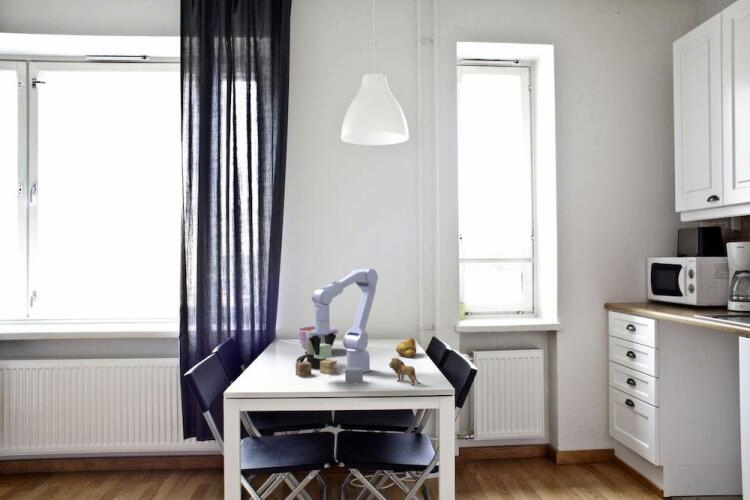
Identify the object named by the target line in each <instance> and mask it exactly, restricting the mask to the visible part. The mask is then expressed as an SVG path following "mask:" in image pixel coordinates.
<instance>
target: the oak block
mask: <svg viewBox="0 0 750 500" xmlns="http://www.w3.org/2000/svg"><path fill="white" fill-rule="evenodd" d="M337 364H338V360H334V359H331V358H327V359H326V360H323V361H320V369H319V373H320V374H324V375H333V374H336V373H338V365H337Z"/></svg>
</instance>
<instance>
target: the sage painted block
mask: <svg viewBox="0 0 750 500" xmlns="http://www.w3.org/2000/svg"><path fill="white" fill-rule="evenodd" d="M332 352H333V351H332V348H331V345H329V344H324V343H323V344H320V353H319V355H315V353H314V358H318V359H326V360H327V359H331V358H332V355H333V354H332Z"/></svg>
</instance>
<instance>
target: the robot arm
mask: <svg viewBox="0 0 750 500" xmlns="http://www.w3.org/2000/svg"><path fill="white" fill-rule="evenodd" d="M378 280H379V275H378V273H377V272H376V270H375V269H374V268H358V267H357V268H355V269H353V270H352V271H351V272H350V273H349V274H348V275H345V276H344V277H343V278H342V279H340V280H332V281H330V283H329V284H327V285H323V286H322V288H321V289H316V290H315V291H314V292H313V294H312V296H311V301H312V303H313V307H314V320H315V321H314V326H315V331H311V332H306V337H307V338H309V340H310V342H311V344H312V346H313V349H314V353H315V355H319V353H320V341H321V338H319V337H318V336H323V335H324V338H325V344H329V345H331V349H332V347H333V345H334V344H333V342H334V343H335V339H337V334H339V328H337V327H335V328H334V329H330V327H331V326H330V324H331V323H330V304H331V303H332V301H333V300H334V299H335V298H336V297H338V296H339V295H340V294H342V293H343V292H344V289H346V288H347V287H349V286H350V285H353V284H356V285H357V286H358V288H359V289H361V296H360V299H359V302H358V303H359V304H358V307H357V309H356V313H355V317H354V321H353V324H352V326H351V327H350V328H348V329H347V330H346V333H345V335H344V337H343V339H342V345H343V347H344V348H345V351H346V369H349V368H351V367H354V368H363V373H367V372H371V371H372V370H371V369H370V368H371V367H370V366H371V365H370V361H371V360H370V357H371V356H370V353H369V351H368V350H367V347H368V343H369V341H368V340H369V339H368V338H369V333H368V332H367V331H366V327H367V323H368V320H369V316H370V313H371V310H372V305H373V302H374V299H375V295H376V290H377V284H378V283H377V282H378ZM336 328H337V329H336ZM334 334H336V335H334ZM332 344H333V345H332ZM346 369H343V370H342V372H345V370H346Z"/></svg>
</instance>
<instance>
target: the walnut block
mask: <svg viewBox="0 0 750 500" xmlns="http://www.w3.org/2000/svg"><path fill="white" fill-rule="evenodd" d="M295 375H296V376H297V377H298V378H302V377H303V378H304V377H309V376H310V377H311V376H312V369H311V363H309V362H307V360H306V362H305V361H303V362H297V361H296V362H295Z"/></svg>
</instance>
